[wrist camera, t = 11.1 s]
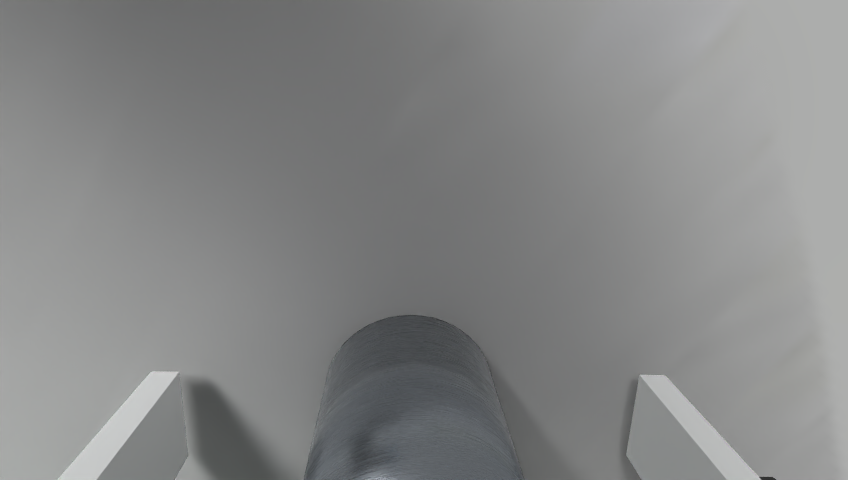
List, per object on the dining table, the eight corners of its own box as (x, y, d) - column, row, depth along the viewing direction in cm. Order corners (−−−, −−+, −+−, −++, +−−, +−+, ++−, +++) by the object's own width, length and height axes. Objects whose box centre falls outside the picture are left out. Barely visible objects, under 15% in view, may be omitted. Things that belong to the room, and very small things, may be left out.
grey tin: (323, 314, 15) (264, 506, 8) (496, 315, 15) (574, 500, 9) (328, 460, 17) (282, 721, 10) (486, 457, 17) (546, 710, 10)
